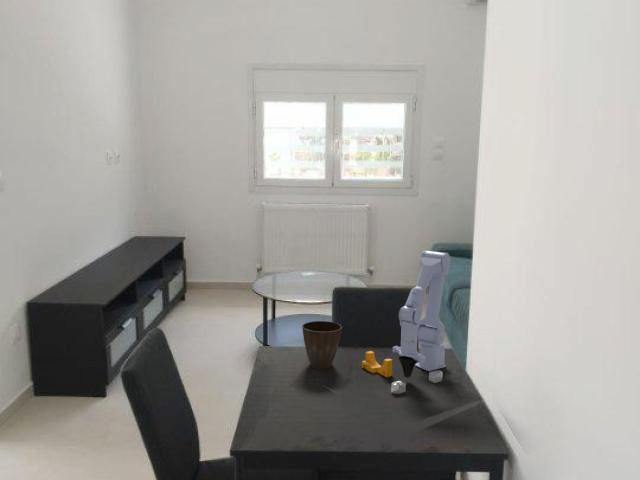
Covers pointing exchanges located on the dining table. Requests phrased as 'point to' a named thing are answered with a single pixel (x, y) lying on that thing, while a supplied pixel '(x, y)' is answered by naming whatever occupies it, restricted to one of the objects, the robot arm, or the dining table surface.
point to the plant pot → (321, 342)
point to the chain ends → (401, 386)
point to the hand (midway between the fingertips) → (407, 376)
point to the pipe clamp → (377, 365)
